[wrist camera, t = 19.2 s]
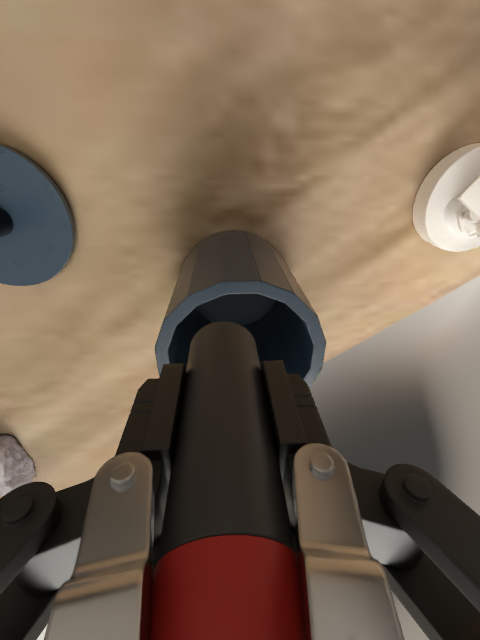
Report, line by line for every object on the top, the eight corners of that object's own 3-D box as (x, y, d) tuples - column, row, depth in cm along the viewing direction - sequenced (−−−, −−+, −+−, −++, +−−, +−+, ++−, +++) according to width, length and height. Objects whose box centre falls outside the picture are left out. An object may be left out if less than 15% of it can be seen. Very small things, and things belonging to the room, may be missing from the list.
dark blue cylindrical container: (232, 204, 26) (241, 240, 15) (308, 282, 30) (357, 355, 19) (158, 286, 29) (120, 364, 19) (234, 346, 33) (241, 440, 22)
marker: (222, 305, 12) (231, 826, 3) (271, 347, 13) (397, 816, 4) (174, 350, 13) (57, 856, 3) (224, 386, 14) (234, 841, 5)
